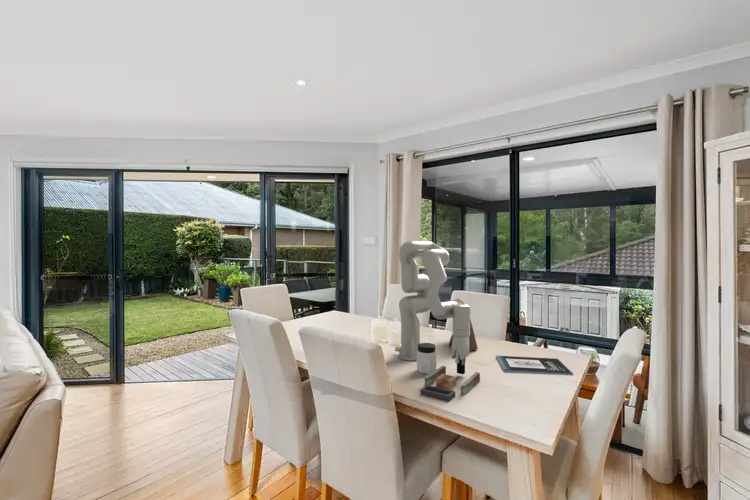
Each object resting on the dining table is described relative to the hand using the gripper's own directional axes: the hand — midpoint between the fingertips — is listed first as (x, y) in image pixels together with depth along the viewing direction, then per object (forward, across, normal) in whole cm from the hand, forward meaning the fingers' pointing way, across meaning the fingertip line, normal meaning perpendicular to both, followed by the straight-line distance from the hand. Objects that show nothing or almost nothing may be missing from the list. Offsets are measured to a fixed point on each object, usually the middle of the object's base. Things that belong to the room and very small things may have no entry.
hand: (460, 373), depth 171 cm
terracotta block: (+2, +15, -1) cm, 15 cm away
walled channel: (+1, +10, 0) cm, 10 cm away
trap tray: (+1, +25, 0) cm, 25 cm away
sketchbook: (+2, -32, +23) cm, 39 cm away
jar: (+2, +2, -16) cm, 16 cm away
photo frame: (+2, -47, -19) cm, 51 cm away
